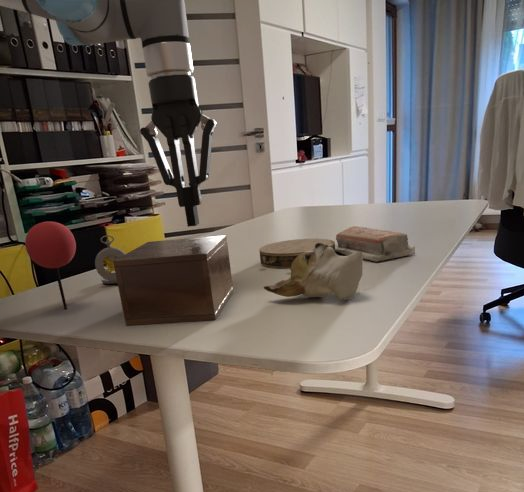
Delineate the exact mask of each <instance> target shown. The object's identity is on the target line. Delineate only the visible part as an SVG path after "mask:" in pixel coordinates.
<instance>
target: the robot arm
mask: <svg viewBox="0 0 524 492" xmlns="http://www.w3.org/2000/svg"><path fill="white" fill-rule="evenodd" d="M185 3H186V2H185V0H0V7H3V8H8V9H11V10H14V11H15V10H16V11H20V12H23V13H28V14H30V15H32V16H36V17H40V18H45V19H47V20H51V21H55V23H56V26H57V30H58V31H59V34H60V36H62V38H63V40H64V41H65V43H66V44H67V45H70V46H87V47H90V46H93V45H97V44H105V43H112V42H120V41H127V40H136V39H140V41H141V47H142V48H141V49H142V53H143V59H144V66H145V72H146V76H147V77H148V78H150V79H149V81H148V89H149V95H150V102H151V108H152V112H151V115H150V118H151V121H150V122H149V123H148V124H147V125H146V126H143V127H141V128H140V129H139V132H140V135H141V136H142V137H143V138H144V139H145V141H147V143H148V146H149V148H150V150H151V153H152V156H153V159H154V162H155V163H156V166H157V168H158V171H159V173H160V175H161V178H162V181H163V183H164V185H166V186H171V187H174V188H175V191H176V196H177V203H178V206H179V207H180V208H184V212H185V213H184V214H185V218H186V224H187V225H186V226H187V227H189V228H190V227H196V226H198V225H200V219H199V218H200V217H199V211H198V206H201V205H202V202H203V201H202V195H201V188H200V186H201V184H202V183H204V182H206V181H208V180H209V179H210V170H211V169H210V167H211V158H212V157H211V156H212V145H213V135H214V133H215V130H216V128H217V125H218V122H217V120H216V119H213V118H210V117H208V116H206V115H204V114H203V110H202V108H201V107H200V105H199V99H198V93H197V85H196V78H195V77H194V76H193V75H192V74H193V73H194V65H193V64H194V63H193V57H192V50H191V49H192V48H191V44H190V36H189V35H190V34H189V27H188V19H187V11H186V4H185ZM199 125H200V128H201V130H202V135H201V146H200V158H199V162H200V163H199V168H198V162H197V157H196V155H197V154H196V149H195V138H194V135H195V134H196V132H197V129H198V127H199ZM157 129H158V131H159V132H160V133H161V134H162V135H163V136H164V137H165V138H166V144H167V146H168V150H169V157H170V164H171V167H170V165H169V163H168V159H167V157H166V155H165V152H164V149H163V146H162V144H161V142H160V140H159V138H158V131H157ZM180 139H181V142H182V144H183V151H184V156H185V163H186V172H187V177H188V182H189V183H188V186H186V185H187V182H186V181H185V175H184V174H185V173H184V167H183V161H182V153H181V148H180V147H181V146H180V145H181V144H180V143H181V142H180ZM198 169H199V170H198Z"/></svg>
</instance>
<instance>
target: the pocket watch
mask: <svg viewBox="0 0 524 492" xmlns="http://www.w3.org/2000/svg"><path fill="white" fill-rule="evenodd" d="M105 237H109V238H111V241H110V239H109V238H107V239H106V241H103V239H104V238H105ZM114 241H115V238H114V237H113V235H109V234H108V235H107V234H106V235H103V236H102V237H100V242H101V243H102V244H104V245H106V247H105V248H103V249H101V250H100V251H98V253H97V255H96V256H95V259H94V267H95V270H96V272H97V273H98V275H99V276H100V277H101V278H100V279H101V280H100V281H101V282H102V284H107V285H111V284H113V285H114V284H118V283H117V279H116V274H115V269H114V264H113V261H114V260H116V259H118V258H120V257H121V256H123V255H125V254H126V252H125V251H123V250H122V249H120V248H117V247H114V246H113V247H112V246H111V244H112V243H113V242H114Z"/></svg>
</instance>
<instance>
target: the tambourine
mask: <svg viewBox="0 0 524 492" xmlns="http://www.w3.org/2000/svg"><path fill="white" fill-rule="evenodd" d="M317 243H322V244H325V245H328V246H330V247H331V248H333V250H334V252H335V245H336V242H335V241H334V240H332V239H328V238H298V239H297V238H296V239H289V240H281V241H276V242H272V243H269V244H265V245H263V246H261V247H260V248H259V249H258V251H259V259H260V265H261V266H262V267H265V268H269V269H291V266H292V263H293V261H294V260H295V259H296V257H297V256H299V255H300V254H302V253H304V252H306V251H314V248H315V245H316V244H317ZM335 253H336V252H335Z"/></svg>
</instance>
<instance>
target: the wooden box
mask: <svg viewBox="0 0 524 492" xmlns="http://www.w3.org/2000/svg"><path fill="white" fill-rule="evenodd" d="M113 264H114V269H115V271H114V273H115V274H116V279H117V283H116V284H117V289H118V293H119V297H120V302H121V307H122V312H123V316H124V317H123V318H124V321H125V326H139V325H154V324H157V325H158V324H173V323H189V322H190V323H191V322H205V321H216V320H217V318H218V316H219V315H220V314H221V312H222V311H223V309H224V307H225V305H226V304H227V303H228V301H229V300H230V298H231V296H232V295H233V294H234V285H233V277H232V269H231V262H230V253H229V244H228V236H227V235H226V234H224V235H223V234H222V235H215V236H214V235H212V236H200V237H190V238H189V237H188V238H187V237H186V238H177V239H166V240H154V241H147V242H144V243H143V244H142V245H140V246H138V247H136V248H134V249H132V250H130V251H129V252H126V253H125V255H123V256H121V257H120V258H118V259H116V260H114V261H113Z"/></svg>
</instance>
